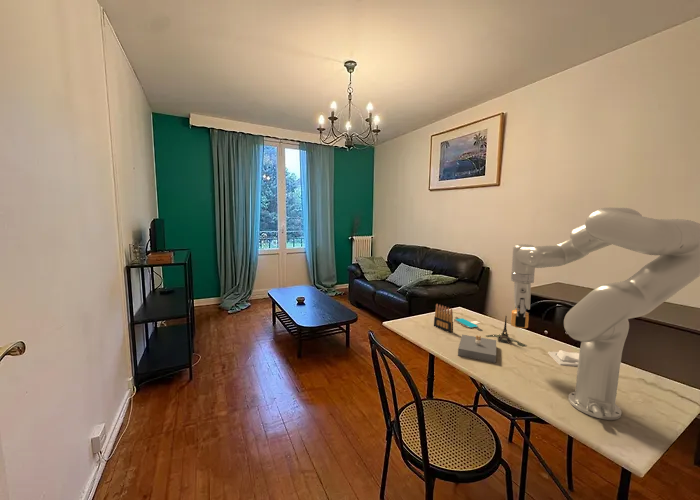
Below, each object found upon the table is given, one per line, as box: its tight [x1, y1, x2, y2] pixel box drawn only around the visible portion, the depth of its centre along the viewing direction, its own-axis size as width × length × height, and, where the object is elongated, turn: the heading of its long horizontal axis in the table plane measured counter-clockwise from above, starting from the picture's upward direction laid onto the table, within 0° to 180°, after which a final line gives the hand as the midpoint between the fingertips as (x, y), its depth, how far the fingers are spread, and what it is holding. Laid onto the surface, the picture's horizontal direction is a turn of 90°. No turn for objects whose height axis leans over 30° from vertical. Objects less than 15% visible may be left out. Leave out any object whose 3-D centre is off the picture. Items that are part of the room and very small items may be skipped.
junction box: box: [457, 334, 497, 364], centre depth 130 cm, size 16×14×7 cm
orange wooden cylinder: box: [510, 309, 530, 329], centre depth 117 cm, size 6×6×5 cm
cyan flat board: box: [453, 316, 482, 331], centre depth 162 cm, size 20×12×2 cm, turn 18°
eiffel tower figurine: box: [485, 315, 528, 348], centre depth 140 cm, size 15×10×13 cm
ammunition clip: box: [433, 303, 454, 334], centre depth 154 cm, size 11×2×12 cm, turn 33°
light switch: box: [547, 349, 580, 368], centre depth 123 cm, size 11×4×13 cm
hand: (519, 323), depth 118 cm, fingers closed on orange wooden cylinder, 5 cm apart
